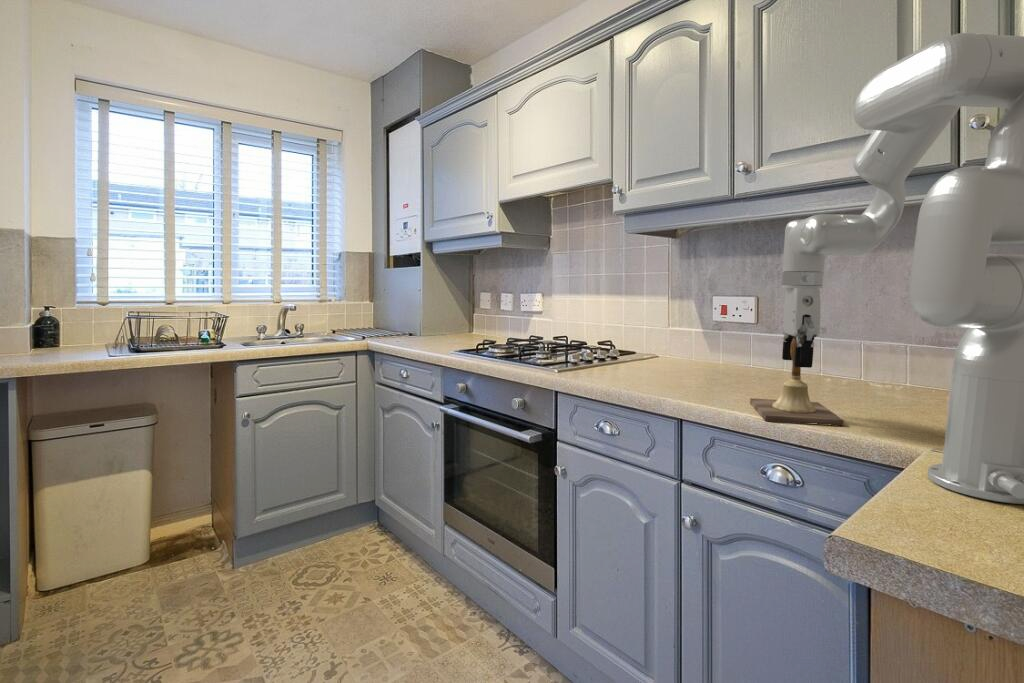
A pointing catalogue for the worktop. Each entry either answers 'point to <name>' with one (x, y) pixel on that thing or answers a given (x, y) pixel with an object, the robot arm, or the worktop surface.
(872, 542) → the worktop surface
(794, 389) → the hand bell
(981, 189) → the robot arm
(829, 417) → the walnut board
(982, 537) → the worktop surface
